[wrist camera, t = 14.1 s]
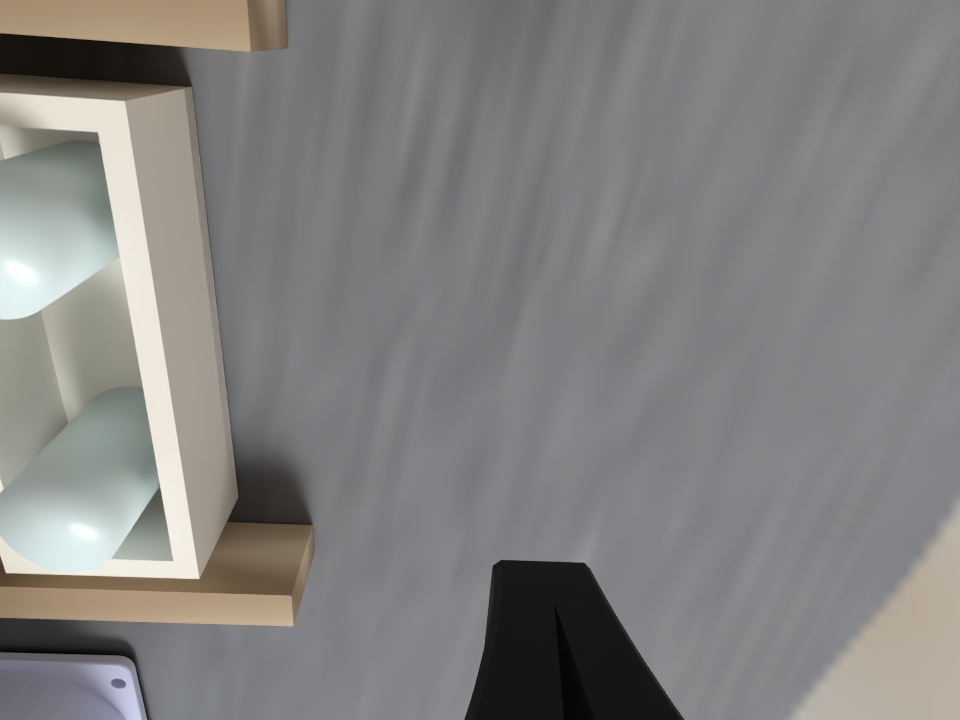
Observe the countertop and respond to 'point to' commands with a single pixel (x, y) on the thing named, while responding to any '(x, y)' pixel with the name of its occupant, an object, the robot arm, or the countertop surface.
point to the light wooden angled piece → (241, 546)
